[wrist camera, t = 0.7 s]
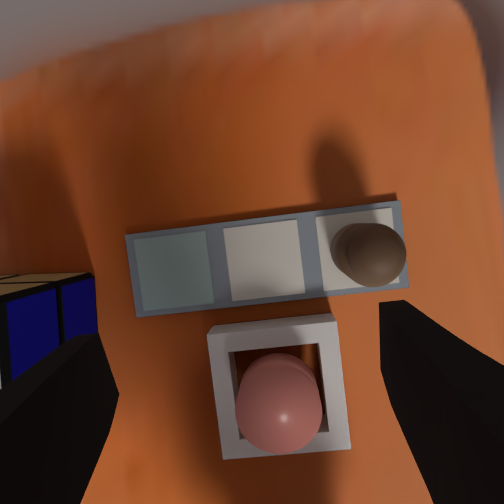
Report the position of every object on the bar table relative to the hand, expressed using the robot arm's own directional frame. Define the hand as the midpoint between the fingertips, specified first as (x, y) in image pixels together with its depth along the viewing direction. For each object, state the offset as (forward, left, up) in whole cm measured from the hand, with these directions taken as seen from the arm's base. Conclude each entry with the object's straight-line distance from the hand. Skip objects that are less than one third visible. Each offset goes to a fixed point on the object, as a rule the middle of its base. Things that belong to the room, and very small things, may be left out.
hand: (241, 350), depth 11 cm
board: (+1, 0, -18) cm, 18 cm away
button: (-7, 0, -15) cm, 17 cm away
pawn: (+1, -6, -17) cm, 18 cm away
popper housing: (-7, 0, -18) cm, 19 cm away
